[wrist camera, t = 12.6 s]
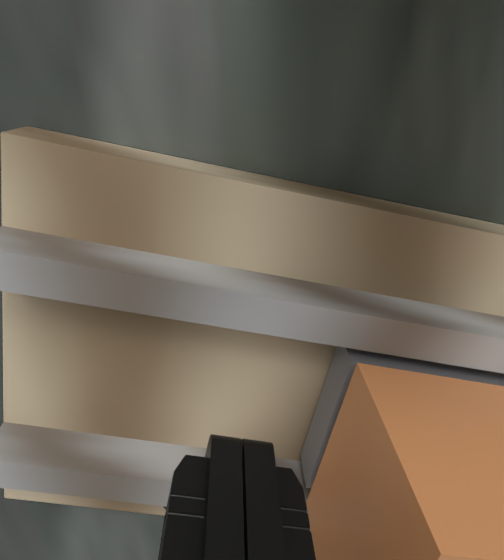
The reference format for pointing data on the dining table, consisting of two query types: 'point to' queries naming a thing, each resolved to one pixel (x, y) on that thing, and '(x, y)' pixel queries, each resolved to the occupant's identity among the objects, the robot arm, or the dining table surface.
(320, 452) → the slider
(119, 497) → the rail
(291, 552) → the robot arm
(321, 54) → the dining table surface
